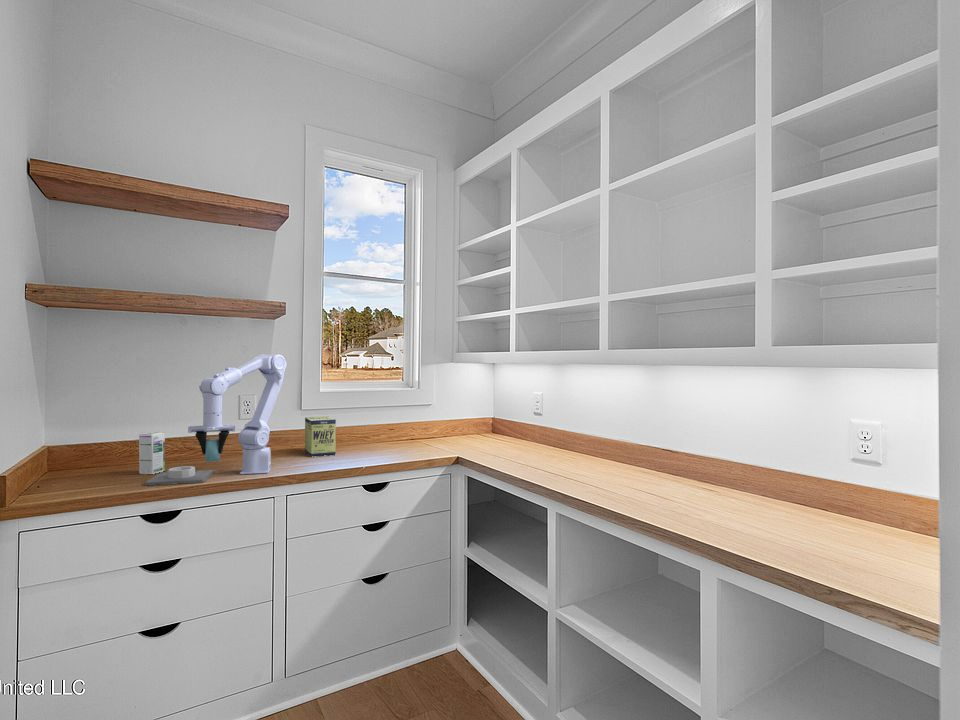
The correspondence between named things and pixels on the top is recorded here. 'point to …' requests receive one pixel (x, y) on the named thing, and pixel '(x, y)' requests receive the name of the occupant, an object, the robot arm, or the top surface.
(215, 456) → the teal rounded cylinder
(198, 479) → the gray square plate
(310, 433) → the protein box
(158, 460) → the syrup box
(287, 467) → the top surface
